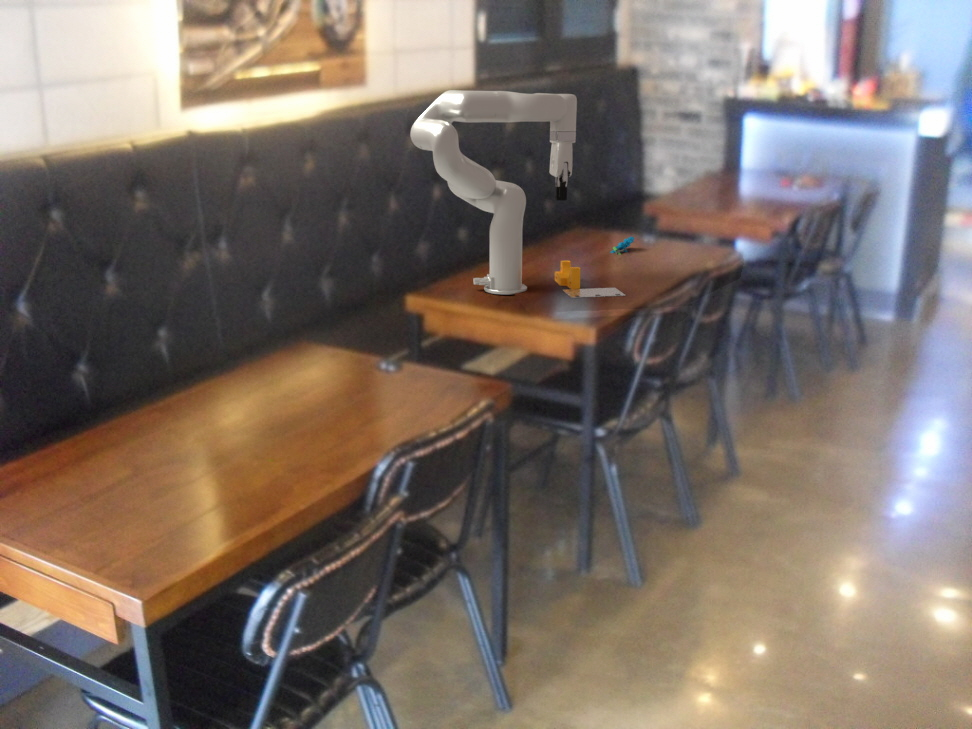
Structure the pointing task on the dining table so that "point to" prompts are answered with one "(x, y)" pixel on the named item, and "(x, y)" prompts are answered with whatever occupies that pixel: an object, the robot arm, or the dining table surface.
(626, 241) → the gear
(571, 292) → the door panel
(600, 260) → the dining table surface
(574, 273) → the pipe clamp
